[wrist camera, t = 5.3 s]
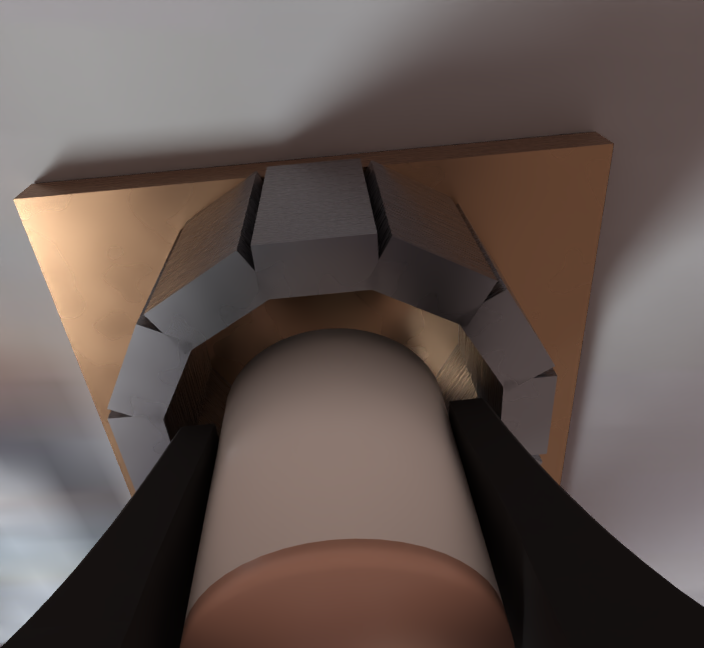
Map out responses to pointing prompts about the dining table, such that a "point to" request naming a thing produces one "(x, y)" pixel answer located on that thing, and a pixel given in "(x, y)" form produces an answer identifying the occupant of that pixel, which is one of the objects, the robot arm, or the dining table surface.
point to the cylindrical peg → (341, 509)
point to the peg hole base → (328, 277)
